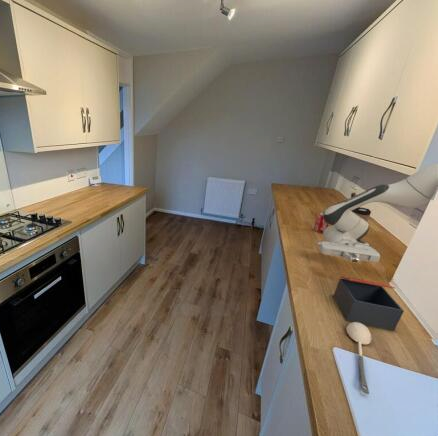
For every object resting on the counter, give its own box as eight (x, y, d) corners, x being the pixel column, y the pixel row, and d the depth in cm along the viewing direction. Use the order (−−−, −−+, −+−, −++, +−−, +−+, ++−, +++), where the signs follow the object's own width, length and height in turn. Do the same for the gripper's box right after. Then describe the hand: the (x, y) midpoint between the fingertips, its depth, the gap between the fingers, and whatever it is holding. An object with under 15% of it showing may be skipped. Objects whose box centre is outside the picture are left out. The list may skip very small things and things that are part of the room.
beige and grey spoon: (348, 314, 81) (344, 325, 82) (355, 372, 59) (349, 386, 60) (372, 322, 77) (367, 334, 79) (389, 387, 55) (381, 402, 57)
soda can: (327, 231, 156) (333, 214, 152) (323, 234, 152) (328, 216, 148) (315, 228, 161) (320, 211, 157) (311, 230, 158) (315, 213, 153)
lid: (340, 277, 92) (340, 276, 92) (382, 284, 88) (382, 283, 88) (348, 280, 85) (349, 279, 85) (394, 288, 81) (394, 287, 81)
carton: (333, 295, 95) (339, 278, 92) (373, 304, 91) (381, 285, 88) (346, 320, 83) (354, 300, 80) (393, 331, 79) (404, 310, 76)
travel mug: (341, 238, 146) (351, 208, 139) (348, 236, 149) (359, 206, 142) (355, 243, 140) (367, 211, 133) (362, 241, 143) (374, 210, 136)
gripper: (317, 235, 110) (326, 248, 98) (372, 243, 103) (389, 258, 91) (313, 247, 112) (322, 262, 100) (367, 256, 106) (383, 272, 93)
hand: (354, 260), depth 96 cm, fingers closed
